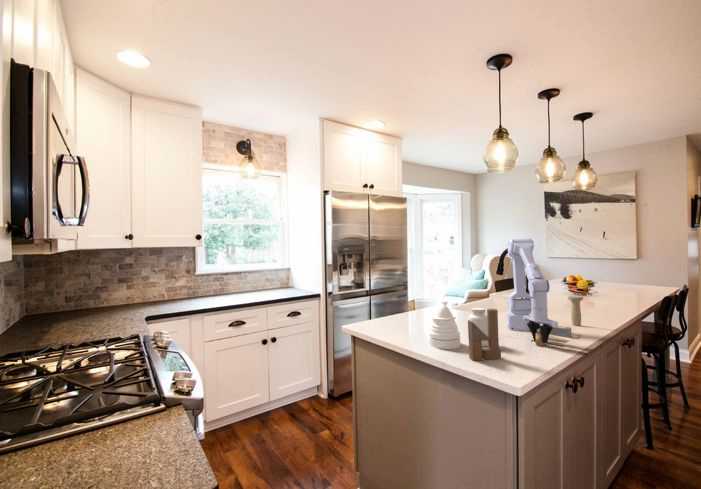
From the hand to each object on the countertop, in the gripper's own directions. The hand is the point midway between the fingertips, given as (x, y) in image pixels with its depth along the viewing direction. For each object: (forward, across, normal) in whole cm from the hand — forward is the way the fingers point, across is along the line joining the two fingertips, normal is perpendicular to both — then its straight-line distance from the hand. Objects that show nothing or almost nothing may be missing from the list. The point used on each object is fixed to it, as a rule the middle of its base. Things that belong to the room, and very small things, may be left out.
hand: (540, 341), depth 136 cm
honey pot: (+2, +19, +33) cm, 38 cm away
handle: (+2, +12, -39) cm, 40 cm away
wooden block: (+2, -2, +31) cm, 31 cm away
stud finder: (0, +3, -16) cm, 17 cm away
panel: (+2, +3, -13) cm, 14 cm away
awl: (+2, 0, 0) cm, 2 cm away
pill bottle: (+2, +12, +20) cm, 24 cm away
